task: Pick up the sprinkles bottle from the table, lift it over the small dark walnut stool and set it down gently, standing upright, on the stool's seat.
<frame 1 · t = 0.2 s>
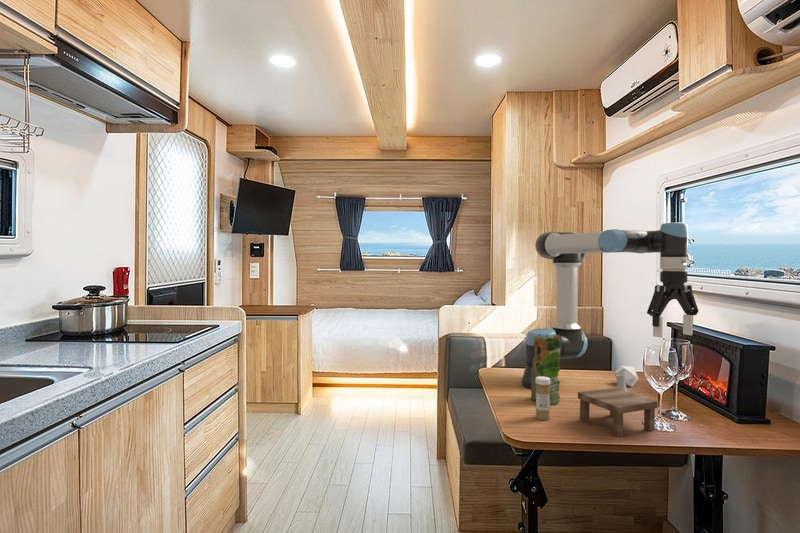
hand: (672, 335, 141), 28 cm above the table, tool pointing down, fingers open, 13 cm apart
pouch: (545, 401, 161), on the table
die: (626, 385, 183), on the table
sprinkles bottle: (542, 418, 143), on the table
walnut stool: (616, 424, 137), on the table
flask: (621, 403, 159), on the table
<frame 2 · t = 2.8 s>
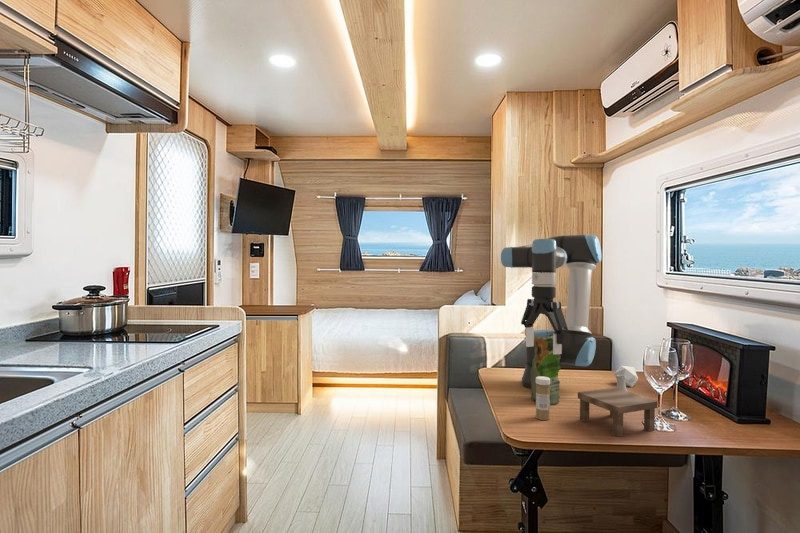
hand: (542, 350, 143), 23 cm above the table, tool pointing down, fingers open, 13 cm apart
nothing on the table moved.
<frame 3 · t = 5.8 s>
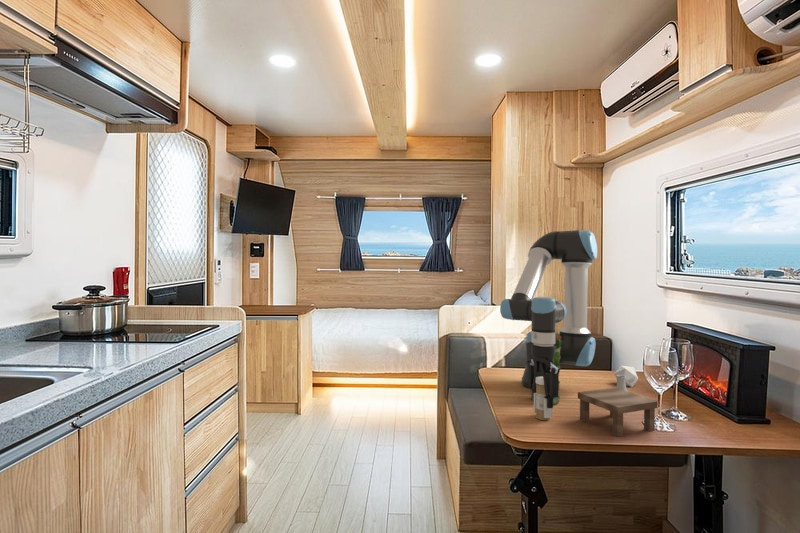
hand: (542, 414, 143), 1 cm above the table, tool pointing down, fingers closed on sprinkles bottle, 4 cm apart
sprinkles bottle: (542, 418, 143), on the table, touching gripper
everything else where it was.
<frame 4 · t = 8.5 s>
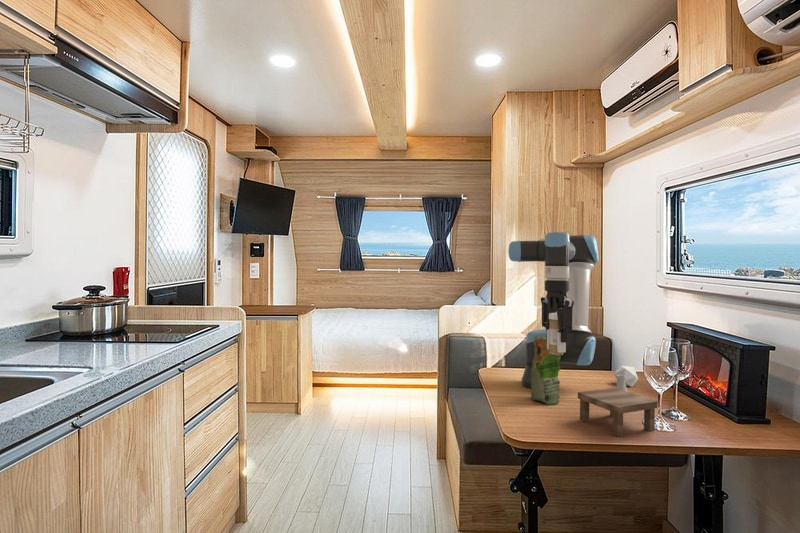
hand: (556, 350, 142), 23 cm above the table, tool pointing down, fingers closed on sprinkles bottle, 4 cm apart
sprinkles bottle: (555, 354, 142), point 21 cm above the table, touching gripper
everything else where it was.
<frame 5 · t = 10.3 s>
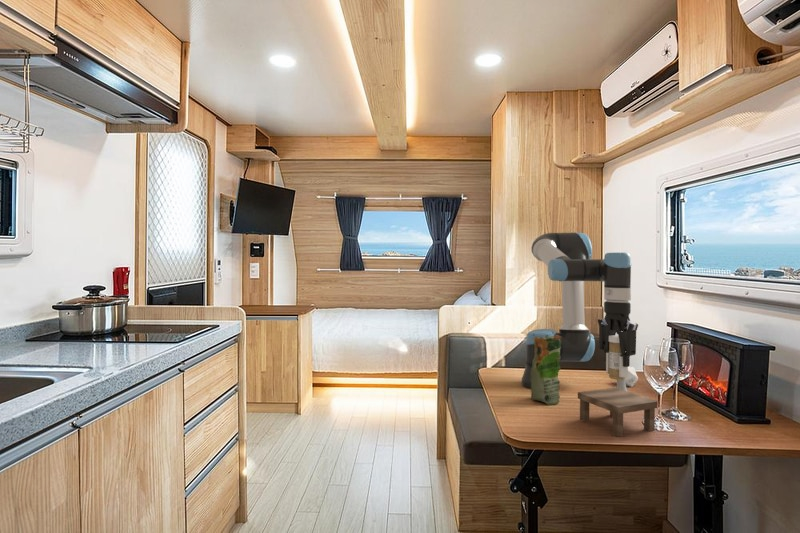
hand: (616, 374, 137), 16 cm above the table, tool pointing down, fingers closed on sprinkles bottle, 4 cm apart
sprinkles bottle: (616, 379, 137), point 15 cm above the table, touching gripper
everything else where it was.
when the fingers open (12 cm above the table, at t = 11.7 s): sprinkles bottle drops 1 cm, resting on walnut stool.
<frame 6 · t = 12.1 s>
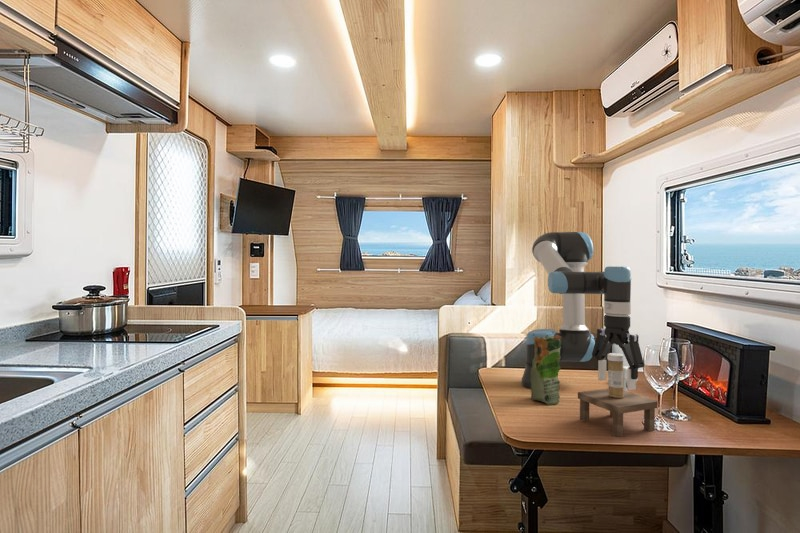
hand: (616, 384, 137), 13 cm above the table, tool pointing down, fingers open, 10 cm apart
sprinkles bottle: (616, 397, 137), point 9 cm above the table, touching walnut stool
everything else where it was.
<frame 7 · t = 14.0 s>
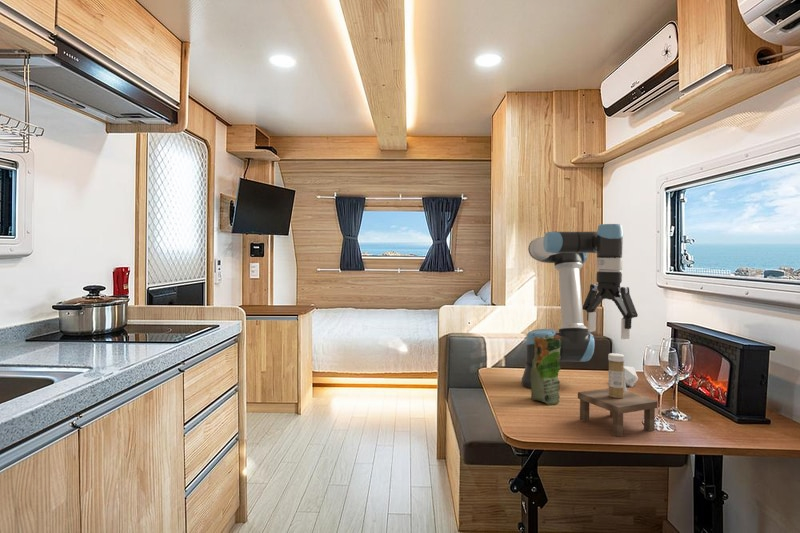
hand: (607, 335, 144), 28 cm above the table, tool pointing down, fingers open, 13 cm apart
nothing on the table moved.
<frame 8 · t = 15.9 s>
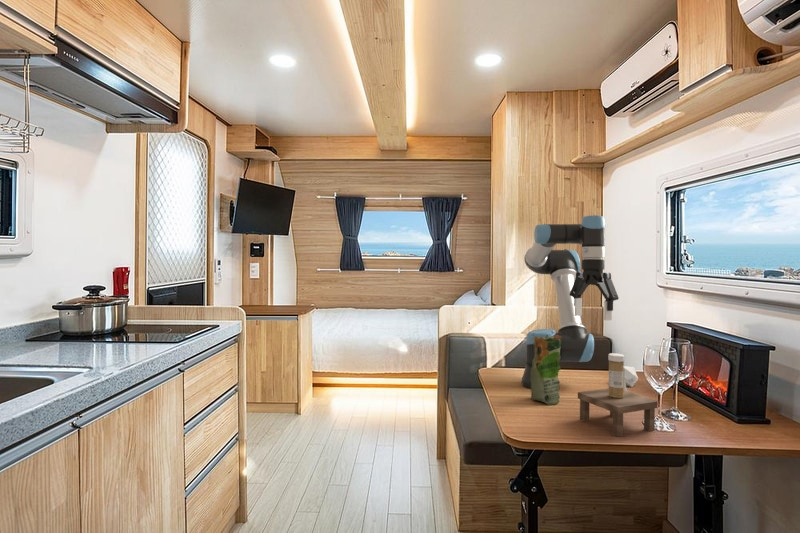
hand: (592, 318, 156), 32 cm above the table, tool pointing down, fingers open, 13 cm apart
nothing on the table moved.
at the end: sprinkles bottle inside the target area on the walnut stool (0.1 cm from its centre), point 8.8 cm above the walnut stool's base; sprinkles bottle tilted 0°; the gripper is holding nothing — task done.
